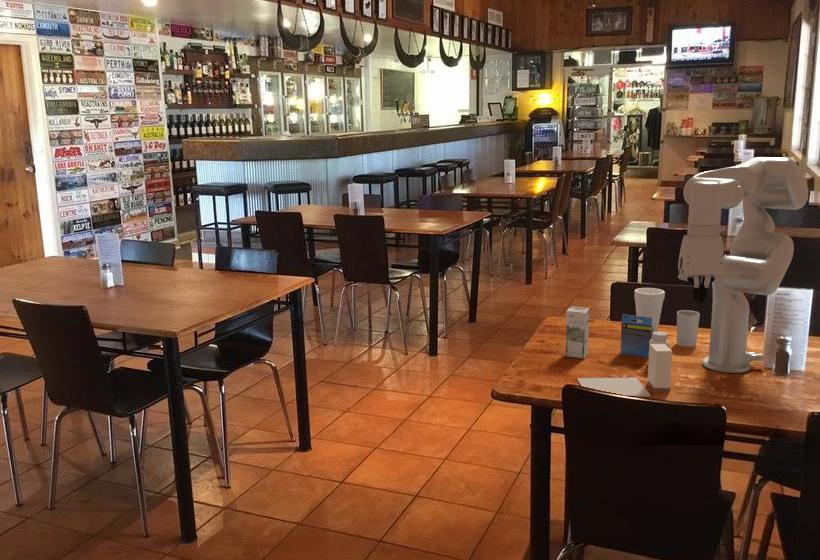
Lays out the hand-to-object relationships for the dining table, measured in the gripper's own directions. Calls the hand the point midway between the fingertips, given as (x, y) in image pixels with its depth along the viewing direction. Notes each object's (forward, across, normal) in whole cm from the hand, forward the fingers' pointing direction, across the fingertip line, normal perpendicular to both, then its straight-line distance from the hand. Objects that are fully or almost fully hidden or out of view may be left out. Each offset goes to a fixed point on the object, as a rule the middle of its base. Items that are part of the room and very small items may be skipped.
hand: (698, 301), depth 190 cm
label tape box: (+23, +7, -28) cm, 37 cm away
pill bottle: (+23, +4, -17) cm, 29 cm away
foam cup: (+23, -4, -54) cm, 59 cm away
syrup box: (+23, +25, -27) cm, 44 cm away
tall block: (+23, +9, 0) cm, 25 cm away
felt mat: (+23, +21, 0) cm, 31 cm away
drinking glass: (+23, -11, -37) cm, 45 cm away
